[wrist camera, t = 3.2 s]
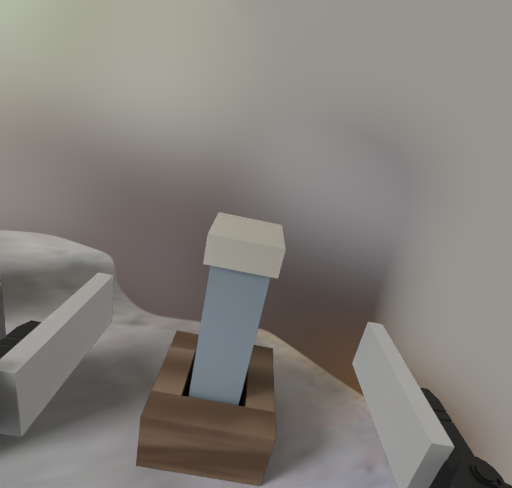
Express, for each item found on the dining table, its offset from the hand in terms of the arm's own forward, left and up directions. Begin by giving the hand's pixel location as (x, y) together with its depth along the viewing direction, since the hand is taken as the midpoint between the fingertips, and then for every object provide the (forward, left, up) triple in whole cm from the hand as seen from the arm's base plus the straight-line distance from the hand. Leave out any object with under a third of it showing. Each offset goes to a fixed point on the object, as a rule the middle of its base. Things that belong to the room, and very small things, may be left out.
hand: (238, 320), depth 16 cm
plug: (+5, +9, -19) cm, 21 cm away
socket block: (+5, +9, -20) cm, 22 cm away
